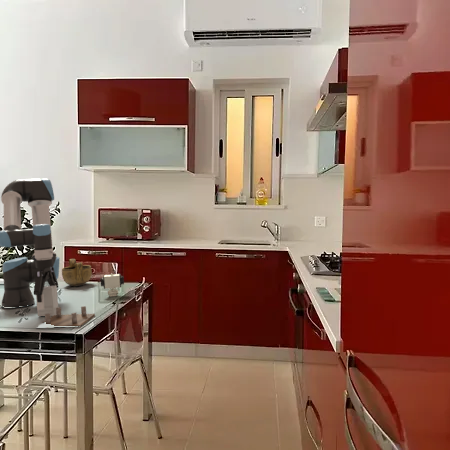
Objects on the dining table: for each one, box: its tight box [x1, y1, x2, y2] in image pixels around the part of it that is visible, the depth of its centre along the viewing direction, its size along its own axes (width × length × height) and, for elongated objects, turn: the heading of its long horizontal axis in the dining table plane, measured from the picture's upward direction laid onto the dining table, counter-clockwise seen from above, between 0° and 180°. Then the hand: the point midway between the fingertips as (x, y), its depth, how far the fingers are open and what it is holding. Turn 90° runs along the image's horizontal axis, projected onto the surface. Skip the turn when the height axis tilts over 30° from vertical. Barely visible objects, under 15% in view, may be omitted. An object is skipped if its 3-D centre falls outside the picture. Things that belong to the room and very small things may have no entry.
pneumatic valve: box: [99, 272, 125, 298], centre depth 250 cm, size 6×12×12 cm, turn 103°
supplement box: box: [35, 285, 59, 317], centre depth 215 cm, size 7×7×13 cm
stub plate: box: [43, 305, 96, 327], centre depth 200 cm, size 18×18×5 cm
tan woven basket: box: [61, 258, 93, 287], centre depth 286 cm, size 22×17×15 cm
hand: (47, 305), depth 215 cm, fingers open, 13 cm apart
